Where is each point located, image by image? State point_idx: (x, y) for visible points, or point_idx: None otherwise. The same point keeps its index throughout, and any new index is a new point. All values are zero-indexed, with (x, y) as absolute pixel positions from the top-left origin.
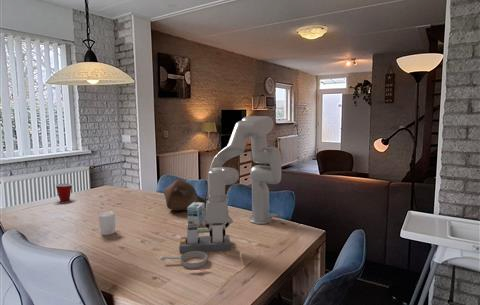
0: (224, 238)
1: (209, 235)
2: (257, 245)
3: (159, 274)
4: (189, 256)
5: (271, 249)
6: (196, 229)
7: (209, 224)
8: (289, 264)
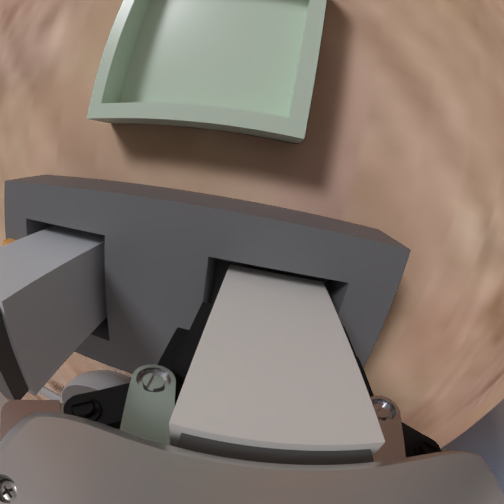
0: (340, 320)
1: (226, 108)
2: (485, 313)
3: (43, 395)
4: (91, 372)
5: (491, 361)
6: (26, 388)
7: (128, 423)
8: (444, 445)
